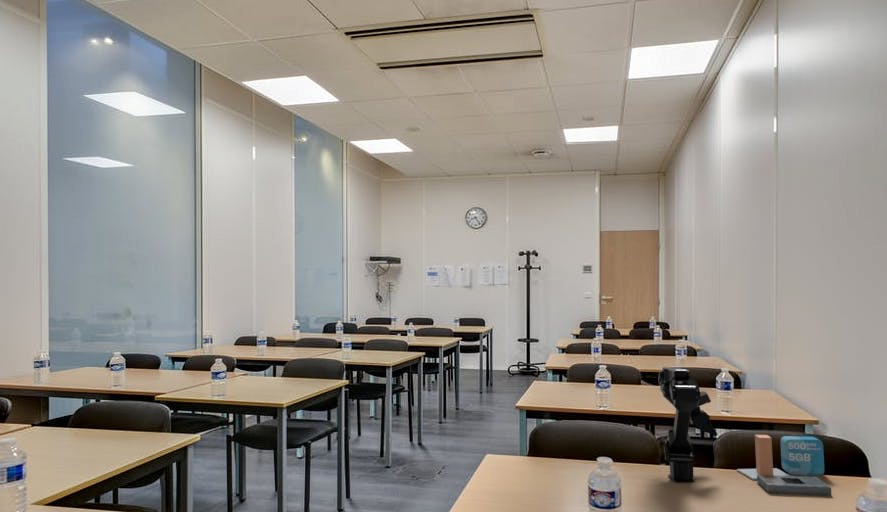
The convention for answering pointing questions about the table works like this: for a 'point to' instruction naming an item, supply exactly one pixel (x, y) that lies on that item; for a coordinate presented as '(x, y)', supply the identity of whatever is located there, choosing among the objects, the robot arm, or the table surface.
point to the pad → (753, 474)
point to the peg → (764, 454)
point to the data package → (802, 455)
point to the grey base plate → (793, 485)
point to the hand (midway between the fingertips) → (713, 431)
